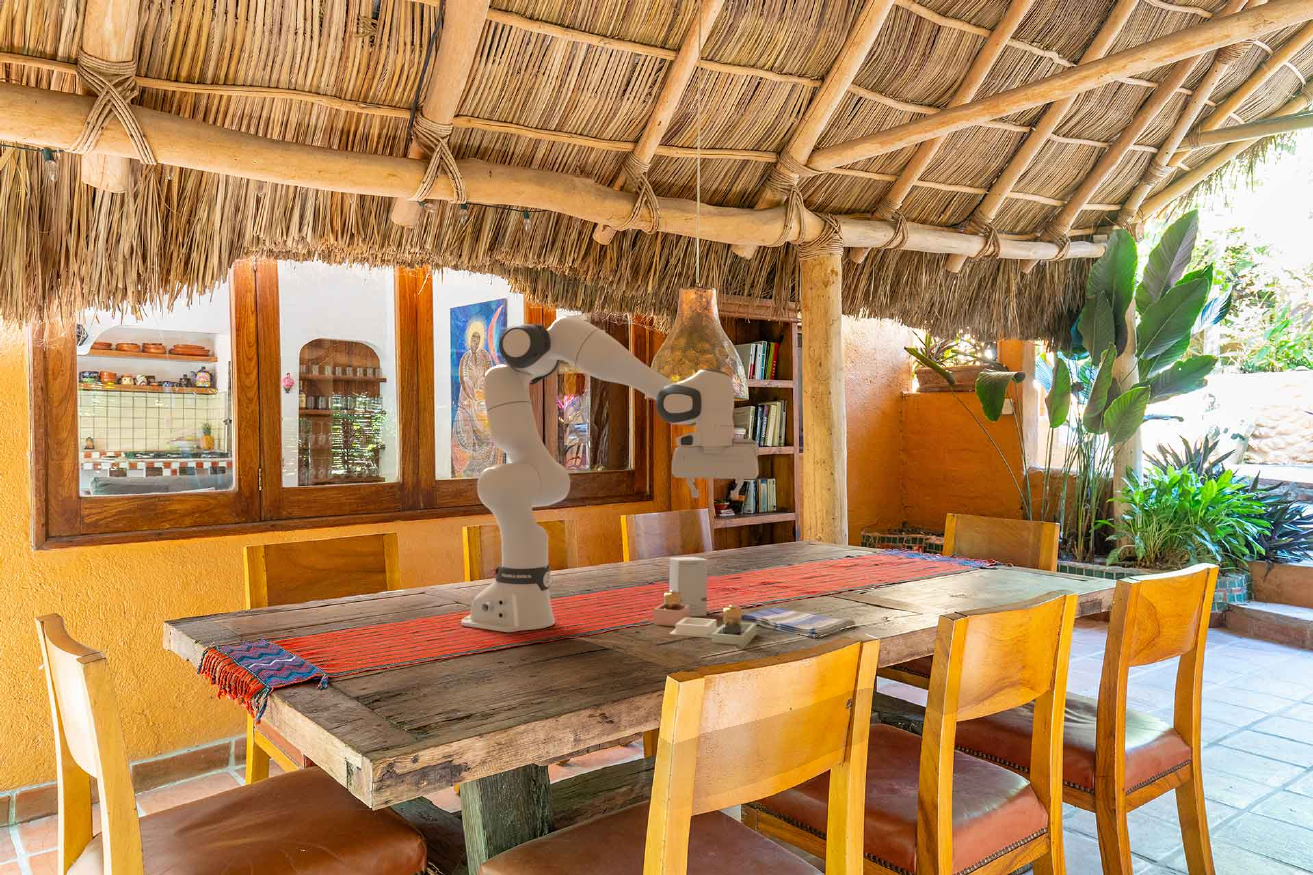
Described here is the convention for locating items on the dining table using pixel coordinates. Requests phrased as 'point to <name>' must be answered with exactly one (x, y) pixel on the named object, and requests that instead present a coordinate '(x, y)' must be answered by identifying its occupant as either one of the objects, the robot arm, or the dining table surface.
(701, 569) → the skincare box
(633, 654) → the dining table surface
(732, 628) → the cell
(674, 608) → the cell
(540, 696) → the dining table surface
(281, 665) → the dining table surface
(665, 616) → the pink open box
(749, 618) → the dish towel
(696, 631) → the cradle
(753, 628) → the trough
